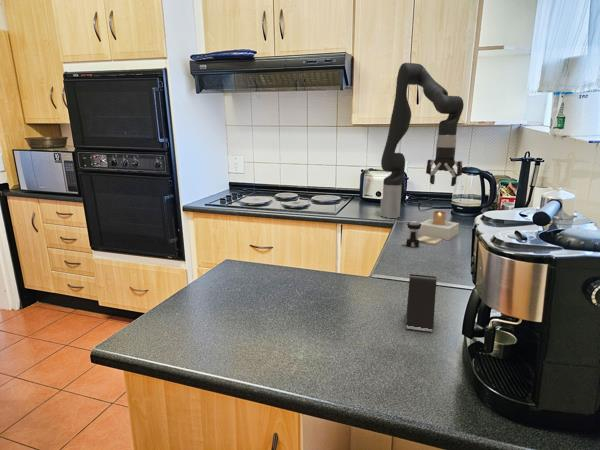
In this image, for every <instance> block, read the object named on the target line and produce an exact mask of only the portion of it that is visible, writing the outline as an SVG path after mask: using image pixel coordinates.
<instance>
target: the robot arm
mask: <svg viewBox="0 0 600 450" xmlns="http://www.w3.org/2000/svg"><path fill="white" fill-rule="evenodd" d="M409 85H411V86H414V85H415V86H416V85H417V86H418V87H419V86H420V87H422V92H423V94H424V96H425V98H427V99H428V100H429V101H430V102H431V103H432V105H433V107H434V108H435V111H437V112H438V113H440V114H442V115H448V116H447V118H446V119H443V120H440V122H439V124H438V132H437V140H436V145H435V149H436V150H435V159H428V160H427V163H426V170H425V173H426V174H427V175H429V183H430V184H431V185H435V180H436V175H435V174H436V173H437V172H439V171H440V172H441V171H444V172H448V173H449V174H450V175H451V181H450V182H451V183H450V184H451V185H450V186H451V187H455V185H456V184H457V180H458V179H457V177H460V176H462V175H463V161H462V160H458V161H456V160H455V159H456V158H455V157H456V149H457V131H458V124H459V121H460V118H461V116H462V113H463V110H464V100H463V98H462V97H461V96H460V95H459V96H458V95H449V93H448V90H446V89H445V88H444V86H442V85H441V84H439V83H438V82H437V81H436V80H434V78H433V77H432V76H431V75H430V73H429V72H428V71H427V69H426V68H425V67H424V66H423V65H422V64H421V63H415V62H414V63H413V62H403V63H402V64H401V65H400V66H399V68H398V72H397V78H396V87H395V97H394V102H393V107H392V113H391V118H390V122H389V129H388V133H387V139H386V142H385V146H384V149H383V153H382V155H381V161H380V167H381V169H382V170H383V171H384V172H391V173H390V175H388V176H387V177H384V178H383V186H382V187H383V188H382V198H380V211H379V216H380V217H381V216H383V217H382V218H384V217H387V218H386V219H390V218H395V219H398V218H397V217H399V218H400V215H401V198H402V184H403V180H404V178H405V177H404V176H405V169H406V159H405V155H404V154H403V153H401V152H396V149H397V147H398V144H399V143H400V141H401V140H402V139H403V137H404V136H405V134H406V133H407V132H408V130H409V128H410V126H411V125H410V124H411V121H412V109H411V106H410V104H409V100H408V86H409ZM432 165H435V167H434V168H433V169H432ZM454 166H455V167H456V168H457V169H456V170H455V168H454Z"/></svg>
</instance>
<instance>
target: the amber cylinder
mask: <svg viewBox="0 0 600 450" xmlns="http://www.w3.org/2000/svg"><path fill="white" fill-rule="evenodd" d="M446 218H447V212H446V211H444V210H435V211H434V212H433V218H432V219H433V224H435V225H445V221H446V220H447V219H446Z"/></svg>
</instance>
